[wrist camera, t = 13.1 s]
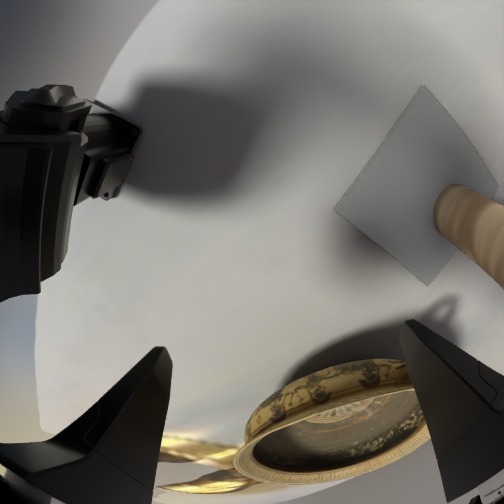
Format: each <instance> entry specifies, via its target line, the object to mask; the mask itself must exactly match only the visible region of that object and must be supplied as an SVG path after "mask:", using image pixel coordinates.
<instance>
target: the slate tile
mask: <svg viewBox="0 0 504 504" xmlns="http://www.w3.org/2000/svg"><path fill="white" fill-rule="evenodd" d="M452 184H460V185H462V186H464V187H467V188H469V189H471V190H473V191H475V192H477V193H479V194H481V195H483V196H485V197H487V198H489V199H492V198H493V196H494V194H495V193H496V191H497V189H498V185H497V183H496V181H495V179H494V178H493V176H492V174H491V173H490V171H489V169H488V168H487V166H486V164H485V163H484V161H483V160H482V158H481V157H480V155H479V153H478V152H477V150H476V149H475V148H474V146H473V145H472V143H471V142H470V140H469V139H468V137H467V136H466V135H465V133H464V132H463V131H462V129H461V128H460V127H459V125H458V124H457V123H456V121H455V120H454V119H453V118H452V116H451V115H450V114H449V113H448V111H447V110H446V109H445V108H444V107H443V105H442V104H441V103H440V102H439V101H438V100H437V99H436V97H435V96H434V95H433V94H432V93H431V92H430V91H429V90H428V89H427V88H426V86H421V87H420V88H419V90H418V91H417V93H416V94H415V96H414V97H413V99H412V100H411V102H410V103H409V105H408V106H407V108H406V109H405V111H404V112H403V114H402V115H401V117H400V118H399V119H398V121H397V122H396V124H395V125H394V127H393V128H392V130H391V131H390V132H389V134H388V135H387V137H386V138H385V140H384V141H383V142H382V144H381V145H380V147H379V148H378V149H377V151H376V152H375V154H374V155H373V156H372V158H371V159H370V161H369V162H368V163H367V165H366V166H365V167H364V169H363V170H362V172H361V173H360V174H359V176H358V177H357V178H356V180H355V181H354V182H353V184H352V185H351V186H350V188H349V189H348V190H347V192H346V193H345V194H344V196H343V197H342V198H341V200H340V201H339V202H338V204H337V205H336V206H335V208H334V209H333V210H334V211H335V212H336V213H338V214H339V215H340V216H342V217H343V218H344V219H346V220H347V221H348V222H350V223H351V224H352V225H354V226H355V227H356V228H357V229H359V230H360V231H361V232H363V233H364V234H365V235H366V236H368V237H369V238H370V239H372V240H373V241H374V242H375V243H377V244H378V245H379V246H380V247H382V248H383V249H384V250H385V251H386V252H388V253H389V254H390V255H391V256H392V257H394V258H395V259H396V260H397V261H398V262H400V263H401V264H402V265H403V266H404V267H406V268H407V269H408V270H409V271H410V272H411V273H412V274H414V275H415V276H416V277H417V278H418V279H419V280H420V281H422V282H423V283H424V284H425V285H426V286H427V287H428V286H429V284H430V283H431V282H432V281H433V280H434V279H435V277H436V276H437V275H438V274H439V273H440V271H441V270H442V269H443V268H444V266H445V265H446V264H447V263H448V261H449V260H450V259H451V257H452V256H453V255H454V254H455V252H456V251H457V250H458V248H457V247H456V246H455V245H454V244H452V243H451V242H450V241H449V240H447V239H446V238H445V237H444V236H442V235H441V234H440V233H439V232H438V231H437V230H436V228H435V225H434V221H433V210H434V206H435V202H436V200H437V198H438V196H439V195H440V193H441V192H442V191H443V190H444V189H445V188H446V187H447V186H449V185H452Z"/></svg>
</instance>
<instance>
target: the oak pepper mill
mask: <svg viewBox="0 0 504 504" xmlns="http://www.w3.org/2000/svg"><path fill="white" fill-rule="evenodd" d="M433 221H434V225H435V228H436V230H437V231H438V232H439V233H440V234H441V235H442V236H444V237H445V238H446V239H447V240H449V241H450V242H451V243H452V244H454V245H455V246H456V247H457V248H459V249H460V250H461V251H462V252H463V253H465V254H466V255H467V256H468V257H469V258H470V259H472V260H473V261H474V262H475V263H476V264H477V265H479V266H480V267H481V268H482V269H483V270H484V271H485V272H486V273H487V274H488V275H490V276H491V277H492V278H493V279H494V280H495V281H496V282H497V283H498V284H499V285H500V286H501V287H502V288H503V289H504V206H503V205H501V204H499V203H497V202H495V201H493V200H491V199H489V198H487V197H485V196H483V195H481V194H479V193H477V192H475V191H473V190H471V189H469V188H467V187H464V186H462V185H460V184H452V185H449V186H447V187H446V188H445V189H444V190H443V191H442V192H441V193H440V195H439V196H438V198H437V200H436V202H435V206H434V210H433Z"/></svg>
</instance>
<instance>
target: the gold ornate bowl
mask: <svg viewBox="0 0 504 504" xmlns="http://www.w3.org/2000/svg"><path fill="white" fill-rule="evenodd" d="M430 438H431V437H430V434H429V431H428V428H427V425H426V422H425V419H424V416H423V413H422V410H421V407H420V404H419V401H418V398H417V395H416V393H415V390H414V387H413V385H412V382H411V379H410V377H409V374H408V370H407V367H406V363H405V361H401V360H396V359H368V360H361V361H354V362H349V363H345V364H340V365H336V366H332V367H329V368H326V369H323V370H320V371H317V372H315V373H312V374H310V375H307V376H305V377H302V378H300V379H298V380H296V381H294V382H292V383H290V384H288V385H287V386H285V387H283V388H282V389H280V390H278V391H276V392H275V393H274V394H272V395H271V396H270V397H269V398H267V399H266V400H265V401H264V402H263V403H262V404H260V405H259V407H258V408H257V409H256V410H255V411H254V412H253V414H252V415H251V417H250V419H249V420H248V423H247V425H246V429H245V445H244V446H243V447H242V448H240V449H239V450H238V451H237V453H236V455H235V457H234V461H233V464H234V466H235V468H236V469H237V470H238V471H239V472H240V473H241V474H242V475H244V476H247V477H249V478H251V479H254V480H258V481H261V482H266V483H274V484H282V485H309V484H318V483H325V482H332V481H337V480H342V479H347V478H351V477H355V476H358V475H361V474H364V473H367V472H370V471H373V470H376V469H378V468H381V467H383V466H385V465H388V464H390V463H392V462H394V461H396V460H398V459H400V458H402V457H403V456H405V455H407V454H409V453H410V452H412V451H413V450H415V449H416V448H418V447H419V446H421V445H422V444H423V443H425V442H426V441H427V440H428V439H430Z"/></svg>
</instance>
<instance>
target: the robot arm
mask: <svg viewBox="0 0 504 504" xmlns="http://www.w3.org/2000/svg"><path fill="white" fill-rule="evenodd" d="M134 129H136V130H137V134H136V135H134V134H133V130H134ZM141 134H142V129H141V127H140V126H139V125H137V124H135V123H133V122H131V121H129V120H127V119H125V118H123V117H121V116H119V115H118V114H116V113H114V112H112V111H110V110H108V109H106V108H104V107H102V106H100V105H98V104H96V103H94V102H91V101H89V100H87V99H79V98H77V96H75V93H74V89H73V87H72V86H68V85H57V84H47V85H44V86H42V87H40V88H38V89H37V88H31V89H29V90H28V91H20V90H17V91H15V92H14V93H13V94H12V95H11V96H10V97H9V99H8V100H7V101H6V102H5V105H4V110H3V111H0V302H2V301H4V300H6V299H9V298H12V297H15V296H19V295H24V294H25V295H28V294H39V293H40V292H41V282H42V281H44V280H46V279H47V278H49V277H51V276H53V275H55V274H56V273H57V272H58V271H59V270H60V269H61V263H62V262H63V260H64V258H65V256H66V254H67V249H68V240H69V232H70V224H71V217H72V211H73V206H75V205H77V204H79V203H80V202H82V201H84V200H86V199H87V198H89V197H91V198H93V199H95V198H98V197H100V198H102V199H104V200H109V199H111V198H112V197H113V195H114V193H115V190H116V188H117V186H119V185H121V184H122V182H123V179H124V177H125V175H126V173H127V170H128V168H129V166H130V164H131V162H132V160H133V158H134V155H133V153H132V152H133V150H134V148H135V146H136V144H137V142H138V140H139V138H140V136H141ZM106 192H108V193H109V196H107V195H106ZM399 341H400V345H401V349H402V352H403V356H404V359H405V363H406V367H407V370H408V374H409V377H410V379H411V382H412V385H413V387H414V390H415V393H416V395H417V398H418V401H419V404H420V407H421V410H422V413H423V416H424V419H425V422H426V425H427V428H428V431H429V434H430V437H431V441H432V444H433V447H434V451H435V455H436V458H437V460H438V461H437V463H438V466H439V470H440V474H441V478H442V482H443V487H444V492H445V496H446V501H447V503H449V502H451V501H453V500H455V499H457V498H459V497H460V496H462V495H464V494H466V493H468V492H469V491H471V490H473V489H474V488H476V487H477V488H478V491H479V495H477V496H476V497H475V498H473V499H471V500H470V503H469V504H504V376H503V375H501V374H500V373H498V372H496V371H494V370H493V369H491V368H489V367H488V366H486V365H485V364H483V363H482V362H480V361H478V360H477V359H476V358H474V357H472V356H471V355H469V354H468V353H466V352H465V351H463V350H462V349H460V348H459V347H457V346H456V345H454V344H452V343H451V342H449V341H448V340H446V339H445V338H443V337H441V336H440V335H438V334H437V333H435V332H434V331H432V330H430V329H429V328H427V327H426V326H424V325H422V324H421V323H419V322H418V321H416V320H414V319H411V320H406V321H404V322H403V325H402V329H401V333H400V336H399ZM172 368H173V364H172V360H171V358H170V355H169V353H168V351H167V349H166V348H165V347H164V346H156V347H154V348H153V349H152V350H151V351H149V352H148V353H147V354H146V355H145V356H144V357H143V358H142V359H141V360H140V361H139V362H138V363H137V364H136V365H135V366H134V367H133V368H132V369H131V370H129V371H128V372H127V373H126V374H125V375H124V376H123V377H122V378H121V379H120V380H119V381H118V382H117V383H116V384H115V385H114V386H113V387H112V388H111V389H110V390H108V391H107V392H106V393H105V394H104V395H103V396H102V397H101V398H100V399H99V400H98V402H96V403H95V404H94V405H93V406H92V407H90V408H89V409H88V410H87V411H86V412H85V413H84V414H83V415H81V416H80V417H79V418H78V419H77V420H75V421H74V422H73V423H71V424H70V425H69V426H68V427H66V428H65V429H64V430H62V431H61V432H60V433H58V434H57V435H56V436H54V437H53V438H51V439H49V440H46V441H42V442H30V443H0V464H1V465H2V466H4V467H5V468H6V472H5V475H4V477H3V476H2V475H0V504H151V503H152V496H153V491H152V490H153V489H154V482H155V476H156V469H157V464H158V458H159V452H160V447H161V441H162V436H163V430H164V425H165V420H166V415H167V410H168V405H169V400H170V389H171V378H172Z"/></svg>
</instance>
